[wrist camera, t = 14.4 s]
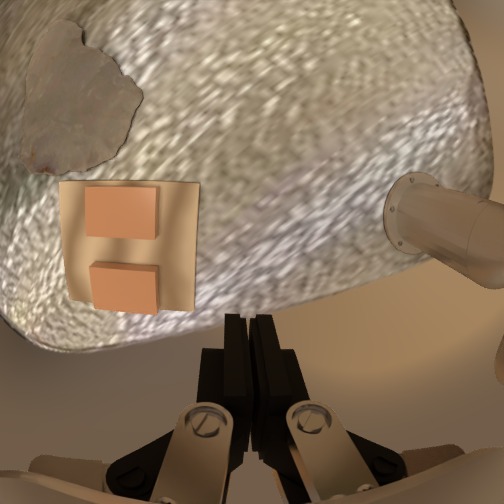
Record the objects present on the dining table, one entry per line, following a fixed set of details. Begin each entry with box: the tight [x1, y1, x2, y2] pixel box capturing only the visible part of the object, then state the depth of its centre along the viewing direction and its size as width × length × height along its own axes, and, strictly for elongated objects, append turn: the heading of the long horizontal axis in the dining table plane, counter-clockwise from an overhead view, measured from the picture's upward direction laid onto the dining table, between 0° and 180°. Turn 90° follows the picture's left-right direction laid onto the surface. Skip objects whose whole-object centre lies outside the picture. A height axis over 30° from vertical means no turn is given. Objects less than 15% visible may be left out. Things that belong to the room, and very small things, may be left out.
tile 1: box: [85, 185, 160, 240], centre depth 31 cm, size 2×6×9 cm
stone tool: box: [18, 18, 143, 176], centre depth 26 cm, size 20×3×25 cm
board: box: [59, 180, 200, 312], centre depth 34 cm, size 19×17×1 cm
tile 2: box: [89, 261, 159, 315], centre depth 34 cm, size 2×6×9 cm
